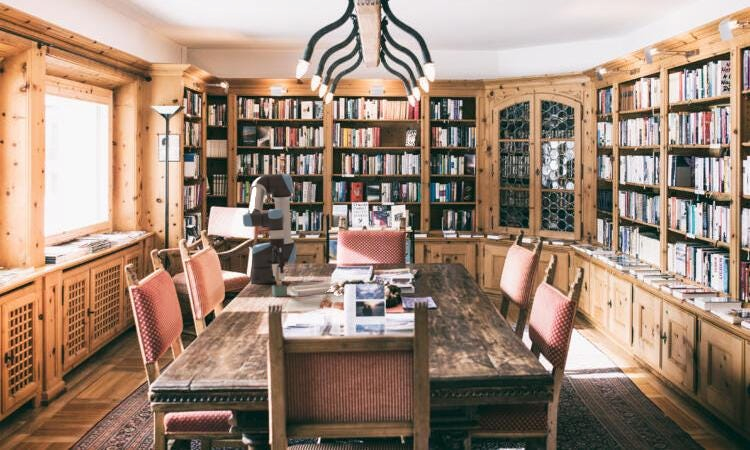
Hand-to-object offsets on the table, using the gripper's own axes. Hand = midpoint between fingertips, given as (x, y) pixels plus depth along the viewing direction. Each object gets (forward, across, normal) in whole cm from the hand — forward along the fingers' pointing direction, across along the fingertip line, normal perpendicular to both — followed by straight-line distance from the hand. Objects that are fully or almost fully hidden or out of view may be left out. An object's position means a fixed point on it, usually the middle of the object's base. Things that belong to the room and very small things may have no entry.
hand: (278, 277), depth 367 cm
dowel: (+10, 0, 0) cm, 10 cm away
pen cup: (+9, 0, 0) cm, 9 cm away
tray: (+9, +1, +19) cm, 21 cm away
